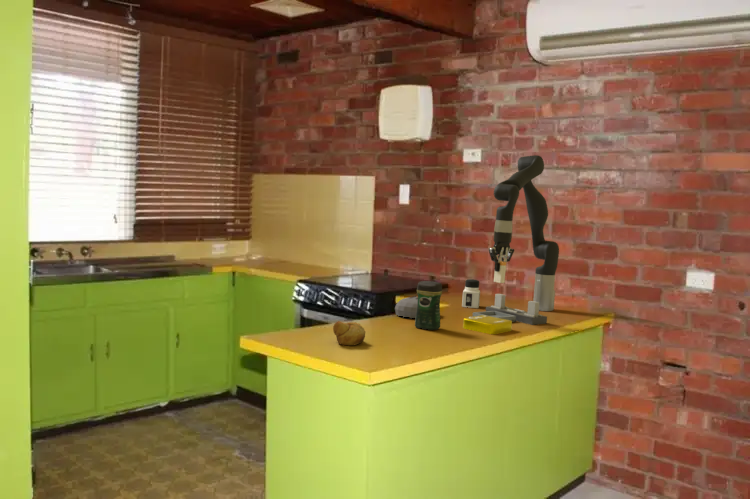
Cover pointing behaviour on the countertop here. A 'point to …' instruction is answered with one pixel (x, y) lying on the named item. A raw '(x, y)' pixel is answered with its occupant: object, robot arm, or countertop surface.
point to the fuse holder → (520, 315)
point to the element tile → (487, 324)
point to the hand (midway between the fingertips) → (499, 271)
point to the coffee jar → (428, 305)
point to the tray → (496, 315)
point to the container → (471, 294)
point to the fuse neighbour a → (500, 300)
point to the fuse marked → (500, 273)
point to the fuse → (533, 308)
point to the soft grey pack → (407, 307)
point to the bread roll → (349, 333)
